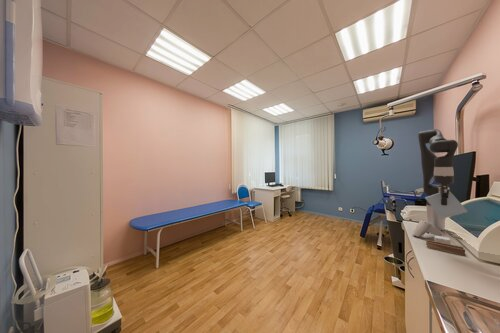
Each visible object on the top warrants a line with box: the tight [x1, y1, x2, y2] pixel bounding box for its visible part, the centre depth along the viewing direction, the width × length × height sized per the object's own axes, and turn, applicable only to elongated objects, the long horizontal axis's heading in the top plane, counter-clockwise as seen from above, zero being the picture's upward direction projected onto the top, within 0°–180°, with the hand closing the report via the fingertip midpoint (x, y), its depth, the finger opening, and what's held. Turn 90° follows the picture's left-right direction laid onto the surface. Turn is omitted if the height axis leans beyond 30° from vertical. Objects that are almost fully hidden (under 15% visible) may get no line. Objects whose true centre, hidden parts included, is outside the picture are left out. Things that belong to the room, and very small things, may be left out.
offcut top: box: [433, 235, 452, 245], centre depth 101 cm, size 5×6×2 cm
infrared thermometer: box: [412, 219, 444, 238], centre depth 112 cm, size 5×12×15 cm
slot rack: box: [425, 239, 466, 257], centre depth 95 cm, size 5×14×3 cm, turn 47°
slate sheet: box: [424, 190, 469, 219], centre depth 96 cm, size 2×11×13 cm
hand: (443, 204), depth 96 cm, fingers closed on slate sheet
